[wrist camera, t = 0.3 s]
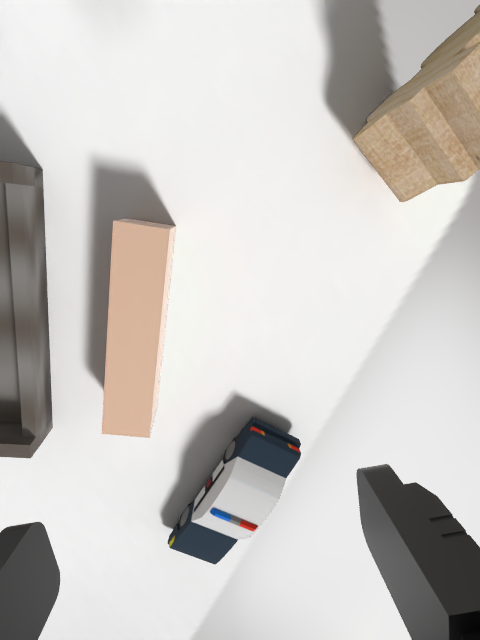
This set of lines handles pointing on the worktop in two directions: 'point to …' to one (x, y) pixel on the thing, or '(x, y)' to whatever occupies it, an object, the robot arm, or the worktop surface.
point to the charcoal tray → (23, 313)
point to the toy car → (237, 492)
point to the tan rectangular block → (136, 324)
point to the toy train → (430, 120)
